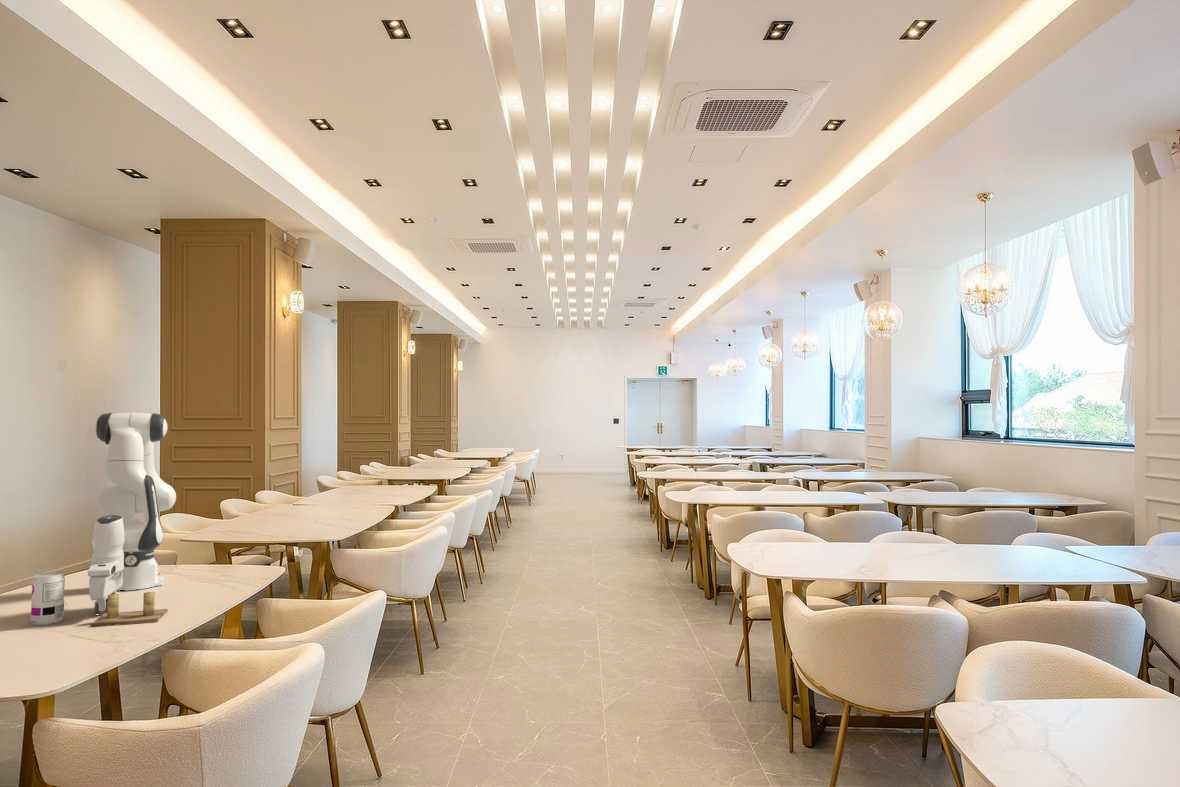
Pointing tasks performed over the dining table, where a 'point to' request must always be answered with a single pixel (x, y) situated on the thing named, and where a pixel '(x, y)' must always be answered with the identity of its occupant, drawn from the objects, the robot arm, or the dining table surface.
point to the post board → (129, 617)
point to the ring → (96, 608)
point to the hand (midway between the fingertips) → (106, 607)
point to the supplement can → (47, 598)
